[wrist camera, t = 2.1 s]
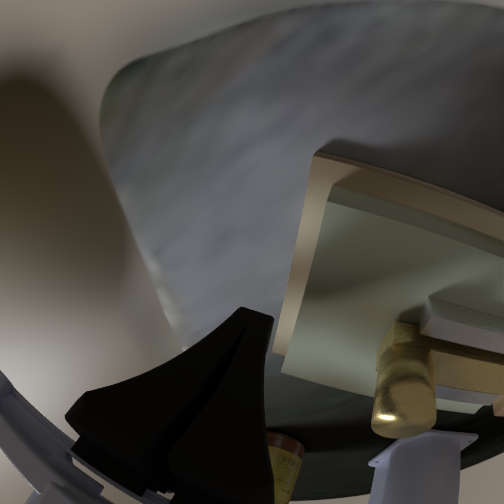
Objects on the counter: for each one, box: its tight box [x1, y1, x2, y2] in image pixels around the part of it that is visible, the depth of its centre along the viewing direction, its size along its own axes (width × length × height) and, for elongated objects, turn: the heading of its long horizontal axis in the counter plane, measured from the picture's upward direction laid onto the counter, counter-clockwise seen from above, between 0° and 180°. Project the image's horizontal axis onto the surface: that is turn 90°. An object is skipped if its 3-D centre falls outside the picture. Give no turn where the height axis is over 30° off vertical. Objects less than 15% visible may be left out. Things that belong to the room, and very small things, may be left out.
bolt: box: [371, 320, 504, 438], centre depth 9 cm, size 2×8×4 cm, turn 84°
